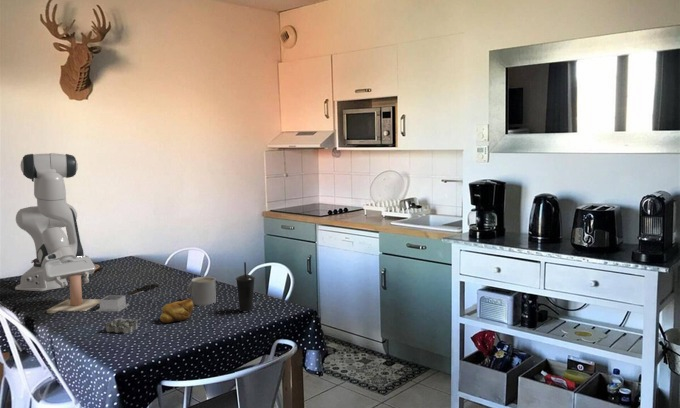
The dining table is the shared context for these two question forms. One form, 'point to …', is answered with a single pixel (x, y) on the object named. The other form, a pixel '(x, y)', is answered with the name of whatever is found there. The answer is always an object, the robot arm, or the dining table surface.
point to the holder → (113, 303)
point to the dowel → (75, 290)
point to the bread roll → (176, 311)
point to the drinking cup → (245, 290)
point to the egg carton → (121, 325)
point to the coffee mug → (203, 290)
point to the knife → (143, 289)
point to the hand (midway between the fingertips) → (75, 284)
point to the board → (67, 307)
